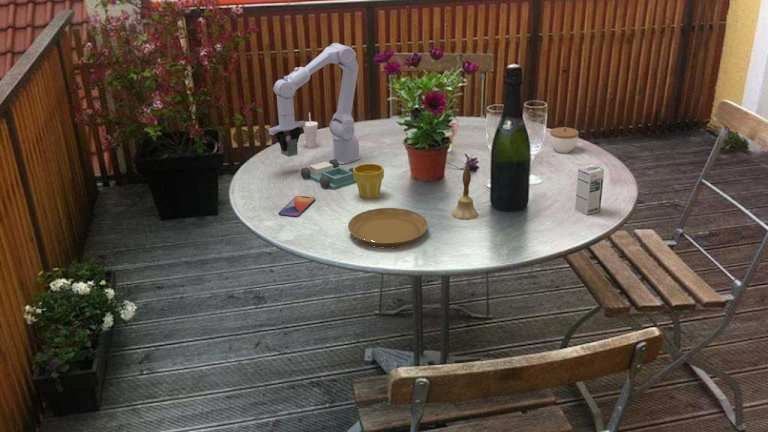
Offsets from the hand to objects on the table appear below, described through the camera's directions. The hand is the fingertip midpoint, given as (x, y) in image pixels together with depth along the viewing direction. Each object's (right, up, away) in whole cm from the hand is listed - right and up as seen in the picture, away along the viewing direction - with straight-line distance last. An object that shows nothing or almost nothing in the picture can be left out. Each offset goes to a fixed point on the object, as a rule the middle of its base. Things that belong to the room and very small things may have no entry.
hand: (289, 149), depth 265 cm
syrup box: (+100, -23, -33) cm, 108 cm away
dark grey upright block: (0, -2, +1) cm, 2 cm away
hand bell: (+61, -24, -34) cm, 74 cm away
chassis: (+15, -11, -3) cm, 19 cm away
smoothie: (+5, +4, +30) cm, 30 cm away
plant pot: (+30, -17, -18) cm, 39 cm away
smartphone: (+6, -22, -26) cm, 34 cm away
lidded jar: (+105, +1, +18) cm, 107 cm away
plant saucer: (+36, -30, -45) cm, 65 cm away
